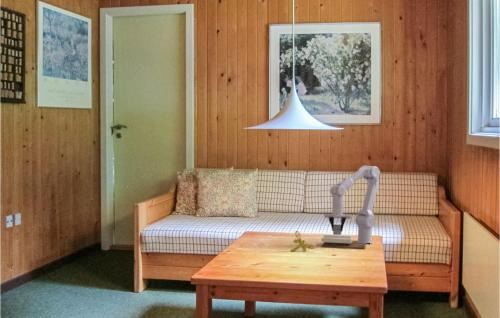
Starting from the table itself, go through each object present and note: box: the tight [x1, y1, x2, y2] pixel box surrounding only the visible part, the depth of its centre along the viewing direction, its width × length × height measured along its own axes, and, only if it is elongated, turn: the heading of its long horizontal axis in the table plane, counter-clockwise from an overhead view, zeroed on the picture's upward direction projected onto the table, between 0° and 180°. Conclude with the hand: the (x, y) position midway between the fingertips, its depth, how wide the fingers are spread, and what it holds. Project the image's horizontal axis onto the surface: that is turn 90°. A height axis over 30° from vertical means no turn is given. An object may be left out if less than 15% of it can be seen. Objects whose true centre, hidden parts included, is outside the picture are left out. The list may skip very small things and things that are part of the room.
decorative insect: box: [290, 230, 315, 252], centre depth 287 cm, size 13×3×10 cm
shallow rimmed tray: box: [321, 234, 354, 245], centre depth 302 cm, size 10×16×3 cm, turn 76°
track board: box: [321, 242, 367, 250], centre depth 301 cm, size 12×23×1 cm, turn 76°
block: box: [332, 223, 342, 236], centre depth 302 cm, size 4×4×5 cm
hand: (337, 231), depth 302 cm, fingers closed on block, 4 cm apart
